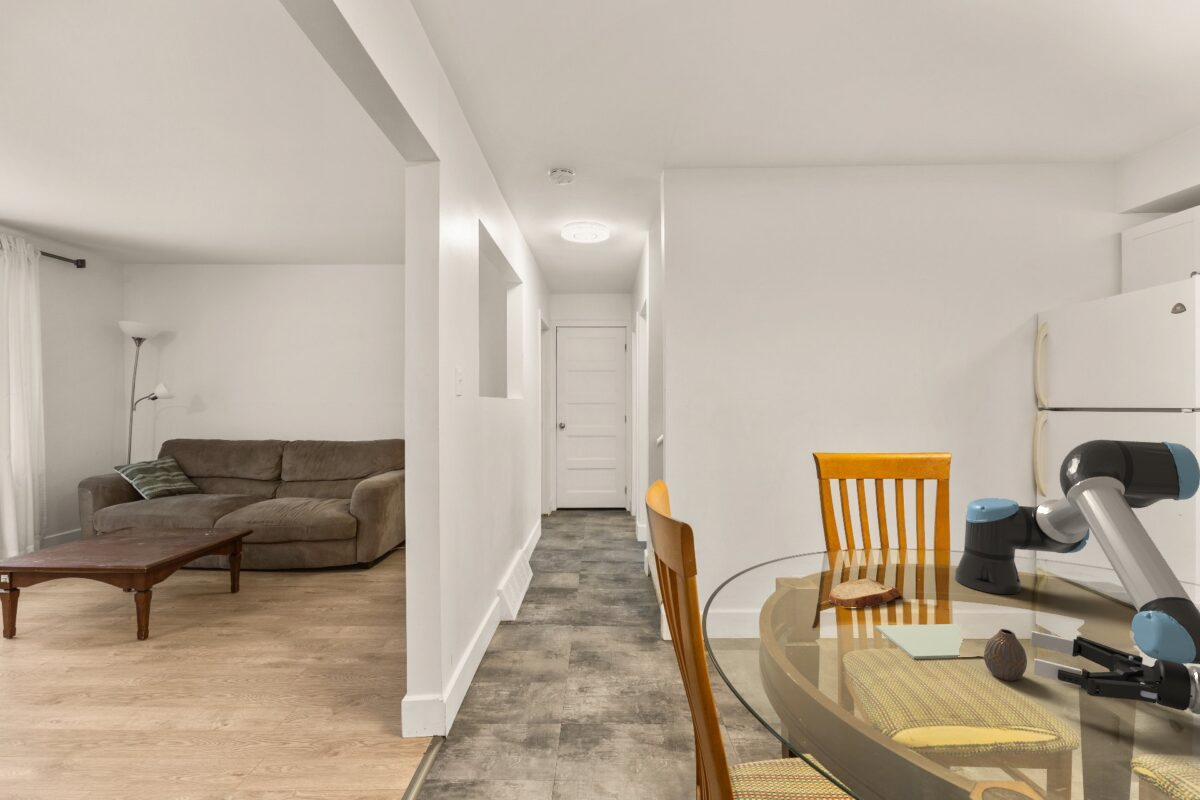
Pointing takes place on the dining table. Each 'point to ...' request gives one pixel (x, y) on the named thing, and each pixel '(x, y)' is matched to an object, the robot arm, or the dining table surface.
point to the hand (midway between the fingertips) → (1032, 651)
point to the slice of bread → (862, 593)
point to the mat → (925, 639)
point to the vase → (1005, 656)
